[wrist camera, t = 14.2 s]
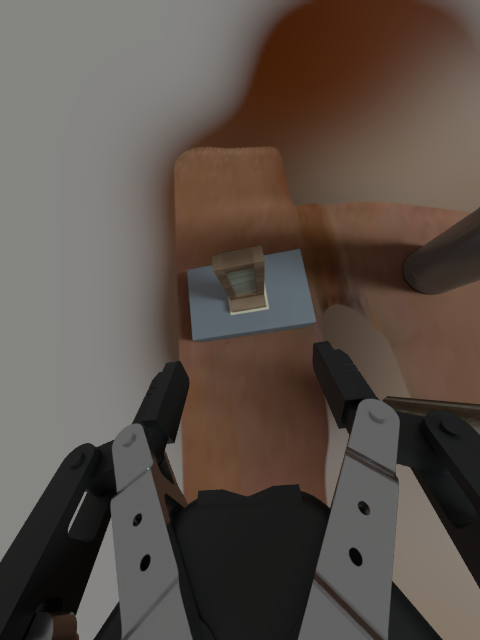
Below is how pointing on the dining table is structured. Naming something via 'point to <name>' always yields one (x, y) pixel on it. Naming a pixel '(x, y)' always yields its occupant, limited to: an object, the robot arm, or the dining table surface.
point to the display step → (279, 314)
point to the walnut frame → (242, 277)
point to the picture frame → (437, 408)
